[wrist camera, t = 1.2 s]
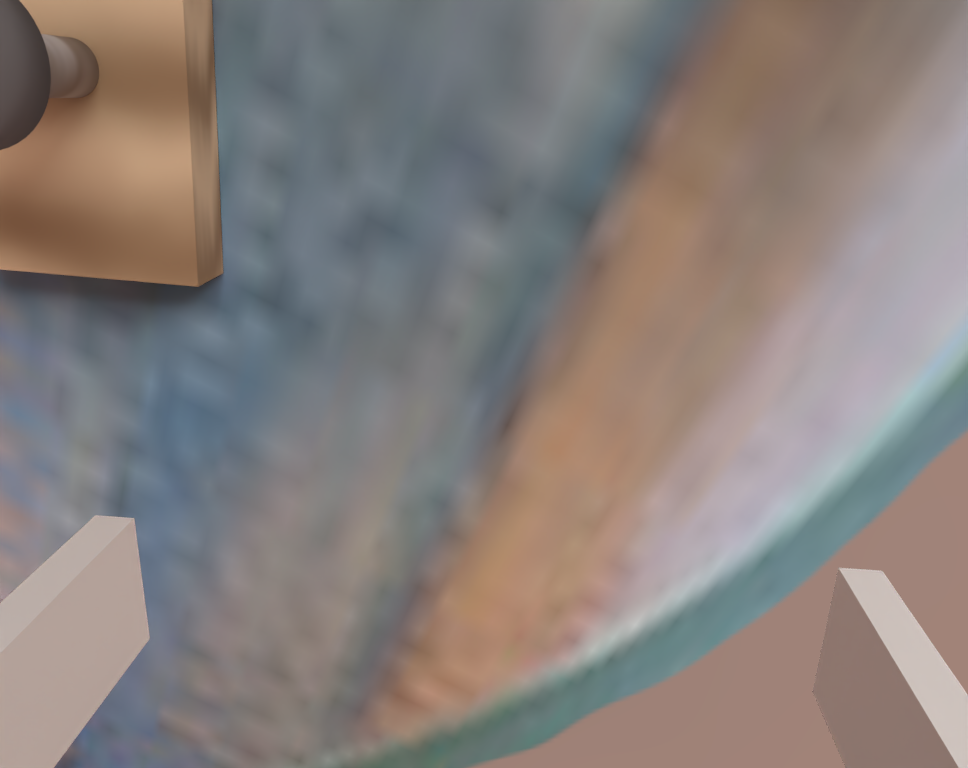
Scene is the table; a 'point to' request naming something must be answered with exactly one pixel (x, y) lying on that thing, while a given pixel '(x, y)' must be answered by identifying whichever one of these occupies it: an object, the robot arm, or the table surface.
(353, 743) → the table surface
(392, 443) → the table surface
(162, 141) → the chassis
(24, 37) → the wheel
